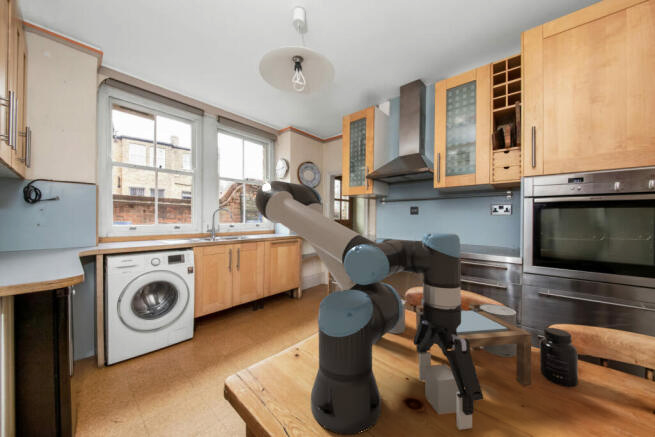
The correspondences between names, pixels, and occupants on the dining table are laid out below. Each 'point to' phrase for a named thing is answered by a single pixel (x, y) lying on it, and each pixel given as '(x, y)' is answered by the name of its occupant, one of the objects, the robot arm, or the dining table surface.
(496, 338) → the hatch frame
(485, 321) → the trapdoor
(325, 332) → the robot arm
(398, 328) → the mug
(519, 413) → the dining table surface
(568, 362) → the supplement bottle
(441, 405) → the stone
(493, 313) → the short grey cylinder
